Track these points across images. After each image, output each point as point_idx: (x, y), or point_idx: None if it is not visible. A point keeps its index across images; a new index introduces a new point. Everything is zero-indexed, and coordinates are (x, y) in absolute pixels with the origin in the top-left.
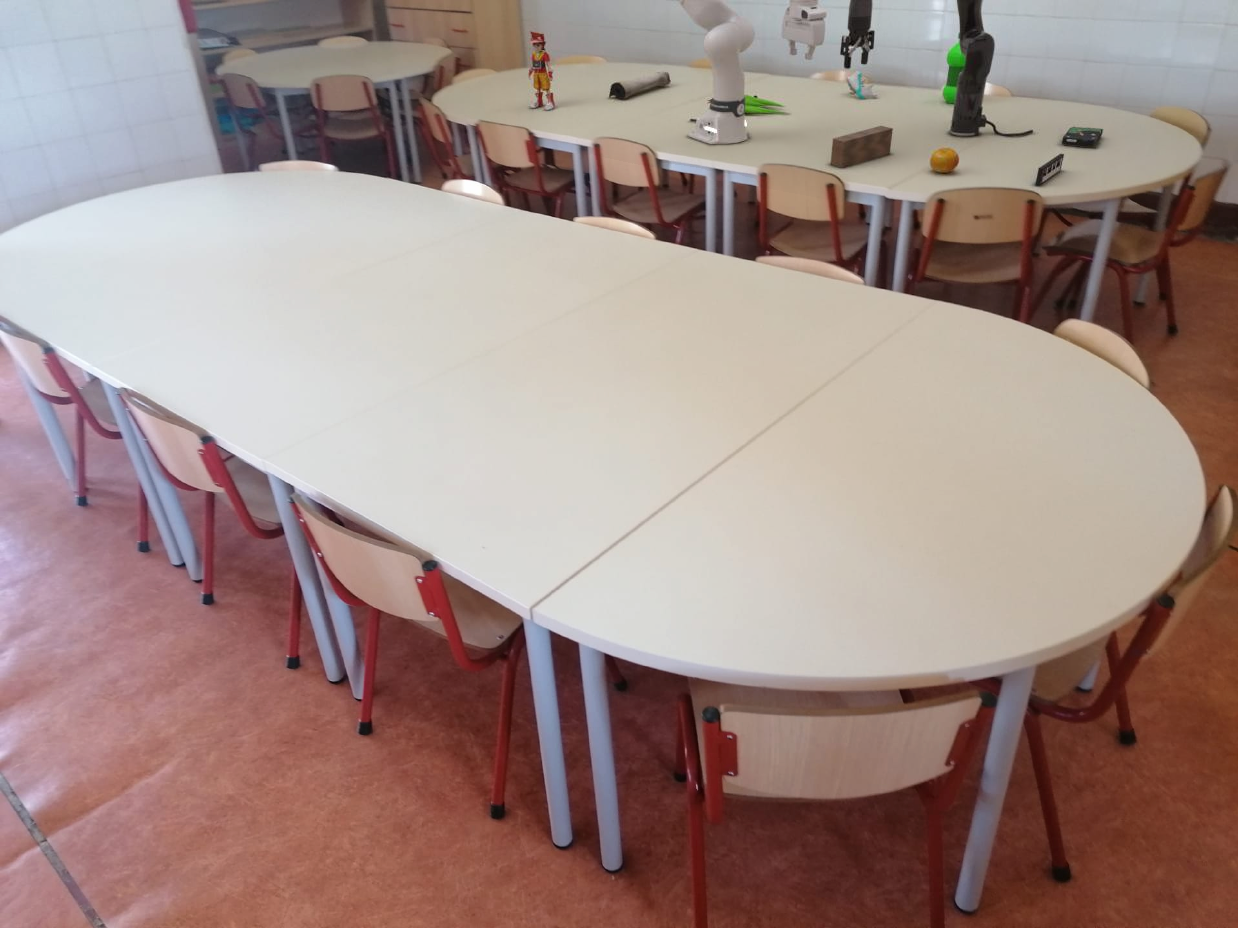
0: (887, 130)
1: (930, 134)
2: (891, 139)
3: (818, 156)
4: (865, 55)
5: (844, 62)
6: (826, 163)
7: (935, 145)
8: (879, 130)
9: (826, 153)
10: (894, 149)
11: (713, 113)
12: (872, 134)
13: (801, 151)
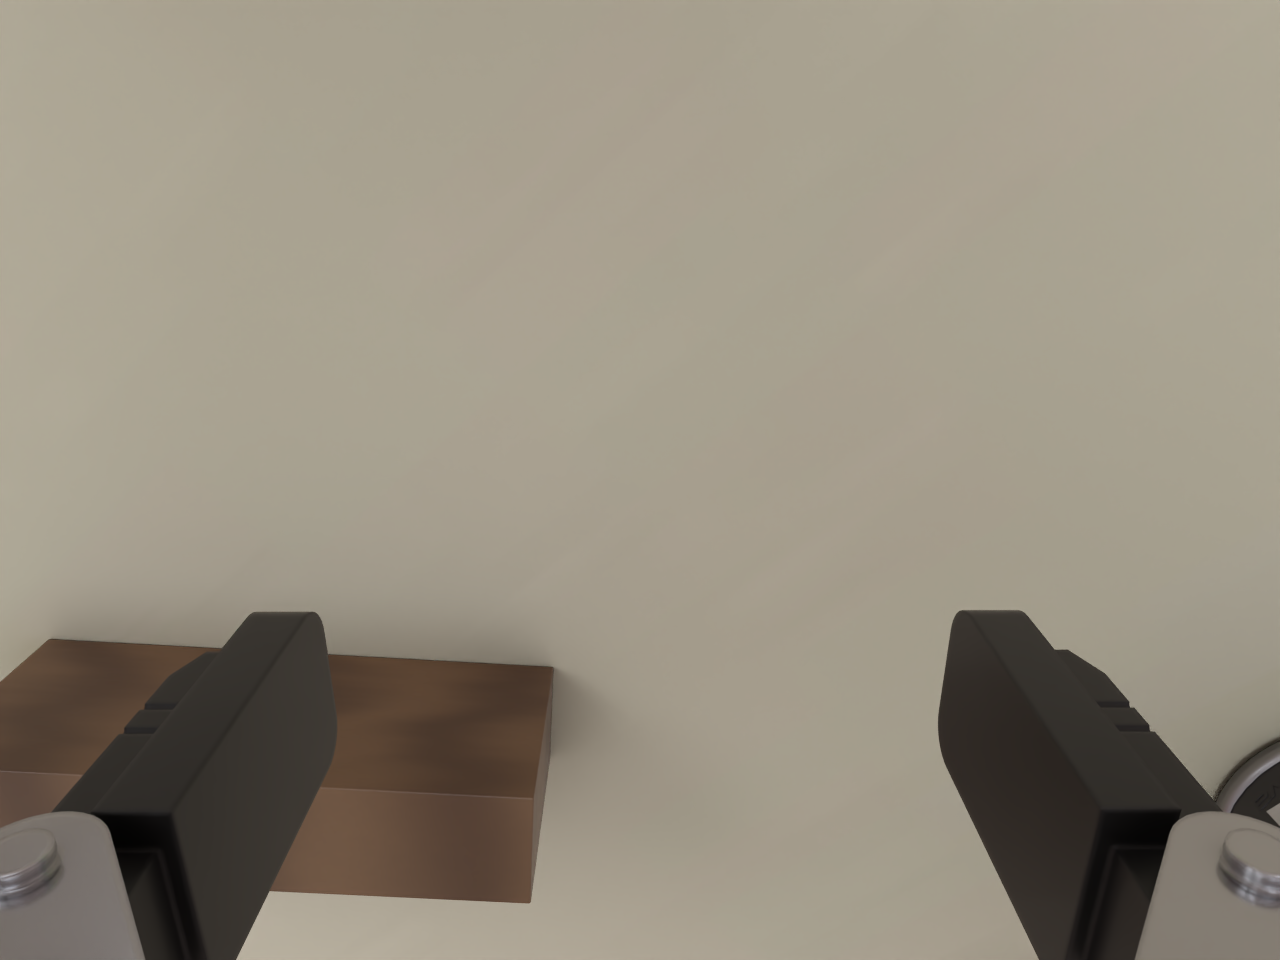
0: (466, 896)
1: (1177, 666)
2: (539, 834)
3: (102, 439)
4: (1032, 893)
5: (125, 742)
6: (44, 597)
7: (929, 831)
8: (400, 873)
9: (210, 430)
10: (670, 712)
11: None
12: (280, 889)
13: (66, 227)
